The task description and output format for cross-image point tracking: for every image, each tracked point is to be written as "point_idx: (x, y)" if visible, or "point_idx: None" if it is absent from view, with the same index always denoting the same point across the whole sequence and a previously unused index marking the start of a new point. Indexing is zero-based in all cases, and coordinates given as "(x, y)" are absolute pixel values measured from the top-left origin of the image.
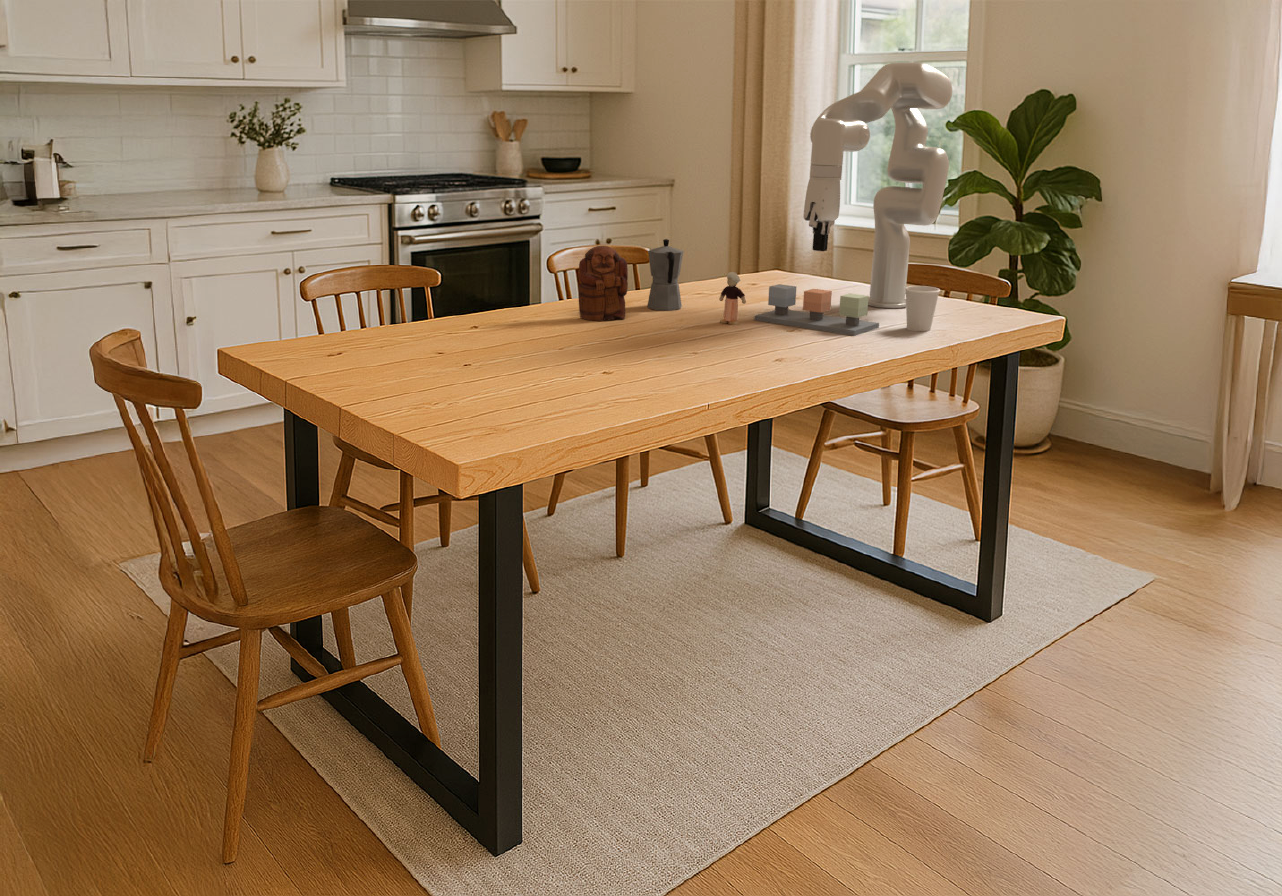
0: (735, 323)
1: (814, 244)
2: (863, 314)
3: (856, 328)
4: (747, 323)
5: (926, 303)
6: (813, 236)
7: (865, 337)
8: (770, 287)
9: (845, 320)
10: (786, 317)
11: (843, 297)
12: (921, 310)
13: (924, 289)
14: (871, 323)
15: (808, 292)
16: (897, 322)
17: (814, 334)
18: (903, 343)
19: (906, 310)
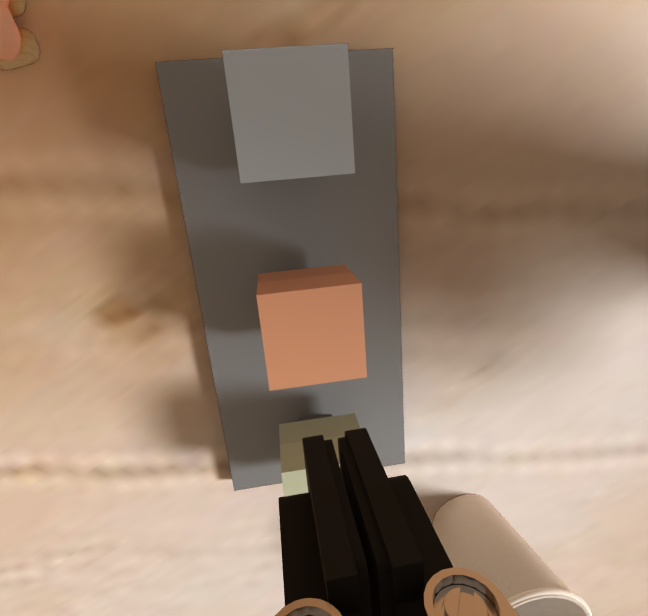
0: (4, 67)
1: (279, 511)
2: None
3: (270, 473)
4: (78, 93)
5: None
6: (320, 545)
7: (243, 507)
8: (224, 63)
9: (361, 378)
10: (236, 201)
11: (283, 482)
12: None
13: (578, 609)
14: (378, 455)
15: (260, 319)
16: (515, 438)
17: (145, 397)
18: (258, 598)
19: (467, 542)
